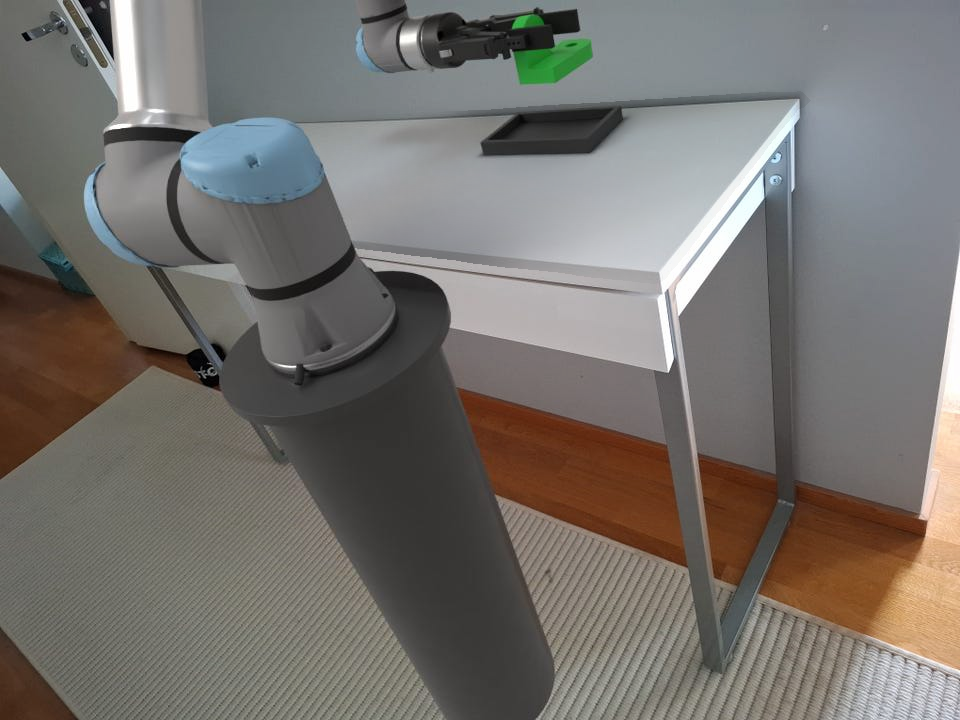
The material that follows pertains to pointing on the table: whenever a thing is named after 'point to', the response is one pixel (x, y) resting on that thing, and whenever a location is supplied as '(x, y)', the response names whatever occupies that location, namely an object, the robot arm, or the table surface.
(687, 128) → the table surface
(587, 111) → the parts tray
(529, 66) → the mechanical part
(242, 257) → the robot arm
